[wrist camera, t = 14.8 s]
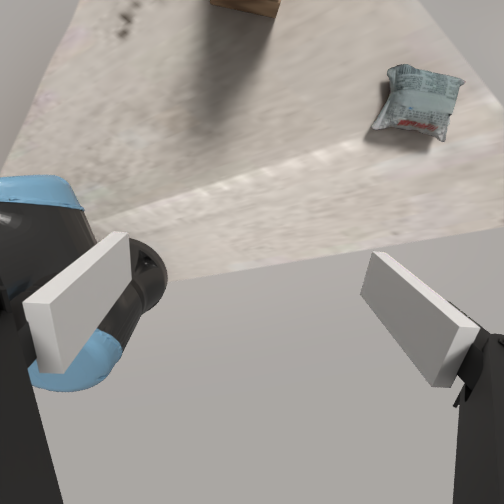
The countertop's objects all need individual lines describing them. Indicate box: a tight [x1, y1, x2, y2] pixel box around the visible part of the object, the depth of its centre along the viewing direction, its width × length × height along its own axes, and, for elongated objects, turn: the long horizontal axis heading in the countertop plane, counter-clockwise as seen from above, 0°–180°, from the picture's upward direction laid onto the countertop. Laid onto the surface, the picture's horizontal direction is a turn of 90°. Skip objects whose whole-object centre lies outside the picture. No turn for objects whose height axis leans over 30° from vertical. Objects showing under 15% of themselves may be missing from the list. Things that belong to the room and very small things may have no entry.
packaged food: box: [371, 64, 465, 142], centre depth 42 cm, size 9×12×5 cm
